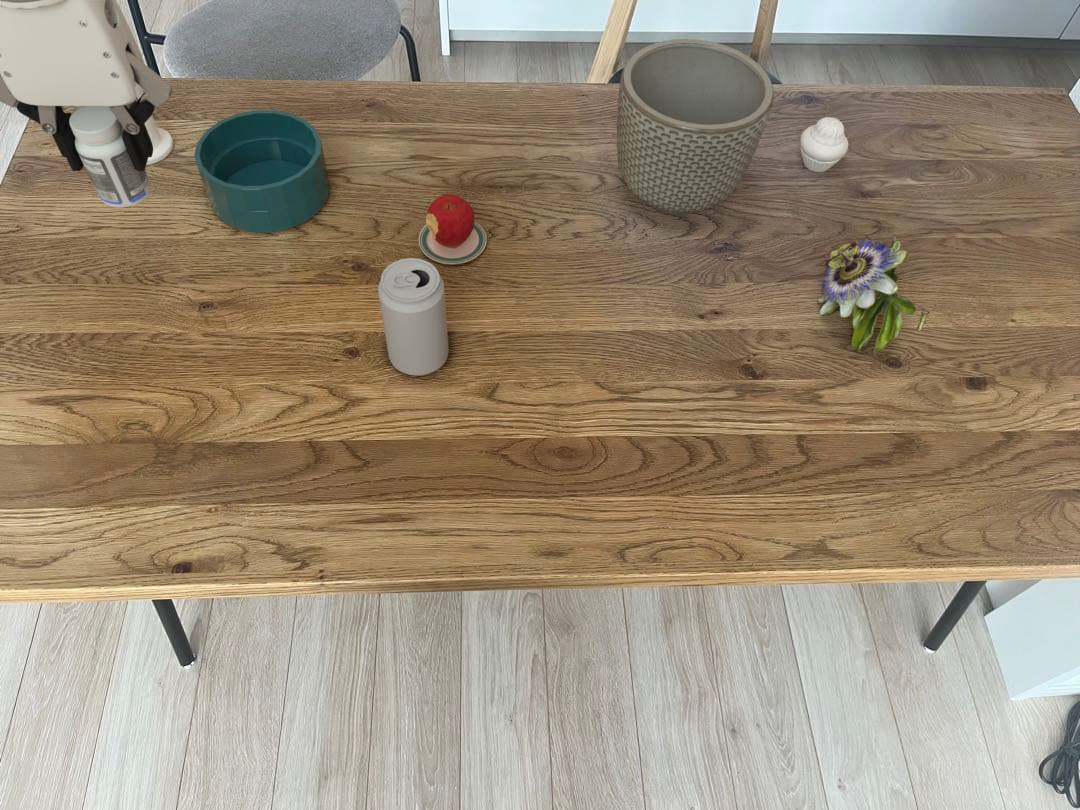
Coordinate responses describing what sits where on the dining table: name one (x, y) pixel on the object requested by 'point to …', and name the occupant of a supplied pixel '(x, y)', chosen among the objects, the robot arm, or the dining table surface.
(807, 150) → the muffin
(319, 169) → the teal pet bowl
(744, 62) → the planter
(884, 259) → the passion flower
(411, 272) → the beverage can
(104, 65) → the robot arm
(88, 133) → the pill bottle
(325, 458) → the dining table surface
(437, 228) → the apple
